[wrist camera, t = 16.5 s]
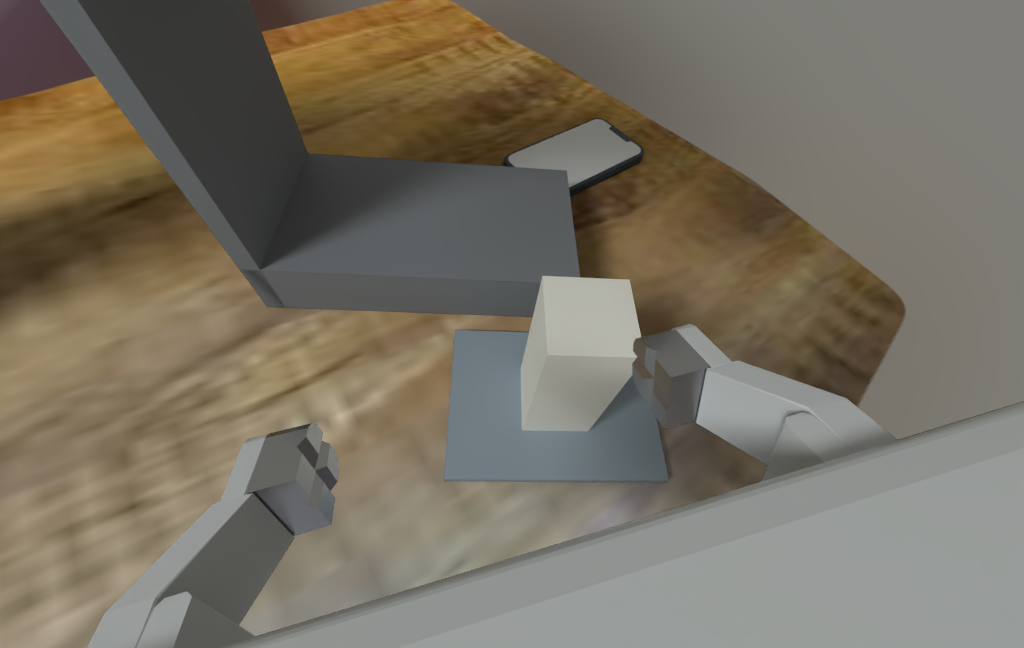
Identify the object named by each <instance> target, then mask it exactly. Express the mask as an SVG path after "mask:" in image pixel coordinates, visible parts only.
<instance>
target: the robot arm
mask: <svg viewBox="0 0 1024 648" xmlns="http://www.w3.org/2000/svg"><path fill="white" fill-rule="evenodd" d="M633 352H634V353H635V354H636V356H637V358H636V359H635V361H634V362H633V363H632V374H633V378H634V382H635V385H636V387H637V389H638V391H639V393H640V394H641V396H642V397H643V398H645V399H647V400H649V401H651V402H652V405H651V411H652V412H653V413H654V415H655V416H656V418H657V419H658V421H659V422H660V424H661V425H662V427H663V428H664V429H668V428H672V427H676V426H679V425H683V424H687V423H691V422H695V421H696V423H697V424H699V425H700V426H702V427H704V428H706V429H707V430H709V431H711V432H712V433H714V434H716V435H717V436H719V437H721V438H722V439H724V440H726V441H727V442H729V443H731V444H732V445H734V446H736V447H737V448H739V449H741V450H743V451H744V452H746V453H748V454H749V455H751V456H753V457H754V458H756V459H758V460H759V461H761V462H763V463H764V464H766V465H767V468H766V471H765V473H764V476H763V478H762V481H761V482H758V483H755V484H752V485H748V486H745V487H742V488H739V489H735V490H732V491H729V492H726V493H722V494H719V495H716V496H712V497H709V498H706V499H703V500H699V501H696V502H693V503H690V504H686V505H683V506H680V507H676V508H673V509H670V510H667V511H663V512H660V513H657V514H654V515H650V516H647V517H644V518H640V519H637V520H634V521H631V522H627V523H624V524H621V525H618V526H614V527H611V528H608V529H604V530H601V531H598V532H595V533H591V534H588V535H585V536H582V537H578V538H575V539H572V540H569V541H565V542H562V543H559V544H555V545H552V546H549V547H546V548H542V549H539V550H536V551H533V552H529V553H526V554H523V555H520V556H516V557H513V558H510V559H507V560H503V561H500V562H497V563H494V564H490V565H487V566H484V567H481V568H477V569H474V570H471V571H467V572H464V573H461V574H458V575H454V576H451V577H448V578H445V579H441V580H438V581H435V582H432V583H428V584H425V585H422V586H419V587H415V588H412V589H409V590H405V591H402V592H399V593H396V594H392V595H389V596H386V597H383V598H379V599H376V600H373V601H369V602H366V603H363V604H360V605H356V606H353V607H350V608H347V609H343V610H340V611H337V612H333V613H330V614H327V615H324V616H320V617H317V618H314V619H311V620H307V621H304V622H301V623H297V624H294V625H291V626H288V627H284V628H281V629H278V630H275V631H271V632H268V633H265V634H261V635H258V636H254V635H253V634H251V633H250V632H248V631H247V630H245V629H244V628H242V627H241V626H239V624H240V623H241V621H242V620H243V618H244V616H245V615H246V613H247V612H248V610H249V609H250V607H251V606H252V604H253V602H254V601H255V599H256V598H257V596H258V595H259V593H260V591H261V590H262V588H263V587H264V585H265V584H266V582H267V581H268V579H269V577H270V576H271V574H272V573H273V571H274V570H275V568H276V567H277V565H278V563H279V562H280V560H281V559H282V557H283V556H284V554H285V552H286V551H287V549H288V548H289V546H290V545H291V543H292V542H293V540H294V536H296V535H299V534H302V533H305V532H309V531H312V530H315V529H318V528H321V527H325V526H328V525H331V523H332V516H333V509H334V502H335V497H334V496H333V495H332V493H331V492H330V491H331V489H332V488H333V487H334V486H335V484H336V483H337V481H338V473H339V469H338V459H337V456H336V454H335V451H334V449H333V448H332V446H331V444H329V443H326V442H324V441H321V440H322V435H323V432H322V431H321V429H320V428H319V427H318V425H317V424H312V423H311V424H307V425H303V426H299V427H295V428H290V429H286V430H282V431H278V432H274V433H270V434H267V435H263V436H259V437H254V438H250V439H248V440H247V441H246V442H245V443H244V444H243V445H242V448H241V450H240V453H239V455H238V458H237V460H236V463H235V465H234V468H233V470H232V473H231V475H230V478H229V481H228V483H227V486H226V488H225V491H224V493H223V496H222V498H221V501H220V502H217V503H214V504H212V505H211V506H210V507H209V508H208V509H207V510H206V511H205V512H204V513H203V514H202V515H201V516H200V517H199V519H198V520H197V521H196V522H195V523H194V524H193V525H192V526H191V527H190V528H189V529H188V530H187V531H186V532H185V533H184V534H183V535H182V536H181V537H180V538H179V539H178V540H177V541H176V542H175V543H174V544H173V545H172V546H171V547H170V548H169V549H168V550H167V551H166V552H165V553H164V554H163V555H162V556H161V557H160V558H159V559H158V560H157V561H156V562H155V563H154V564H153V565H152V566H151V567H150V568H149V569H148V570H147V571H146V572H145V573H144V574H143V575H142V576H141V577H140V578H139V579H138V580H137V581H136V582H135V583H134V584H133V585H132V586H131V587H130V588H129V589H128V590H127V591H126V592H125V593H124V594H123V595H122V596H121V597H120V598H119V599H118V600H117V601H116V602H115V603H114V604H113V605H112V606H111V607H110V608H109V609H108V610H107V611H106V612H105V614H104V616H103V618H102V620H101V622H100V624H99V626H98V627H97V629H96V631H95V633H94V635H93V637H92V639H91V641H90V643H89V645H88V647H87V648H1024V401H1023V402H1020V403H1016V404H1013V405H1010V406H1007V407H1003V408H1001V409H997V410H993V411H990V412H987V413H984V414H980V415H977V416H974V417H971V418H967V419H964V420H961V421H958V422H955V423H951V424H948V425H945V426H941V427H938V428H935V429H932V430H928V431H925V432H922V433H918V434H915V435H912V436H909V437H905V438H902V439H899V440H897V439H896V438H895V437H893V436H892V435H891V434H890V433H889V432H887V431H886V430H885V429H884V428H882V427H881V426H880V425H879V424H877V423H876V422H875V421H874V420H873V419H871V418H870V417H869V416H868V415H866V414H865V413H864V412H863V411H861V410H860V409H859V408H858V407H856V406H855V405H854V404H853V403H852V402H850V401H849V400H848V399H847V398H844V397H841V396H838V395H835V394H833V393H830V392H827V391H824V390H821V389H818V388H815V387H813V386H810V385H807V384H804V383H801V382H798V381H795V380H793V379H790V378H787V377H784V376H781V375H778V374H776V373H773V372H770V371H767V370H764V369H761V368H758V367H756V366H753V365H750V364H747V363H744V362H741V361H738V360H737V361H733V362H732V361H731V360H730V359H729V358H728V357H727V356H726V355H725V354H724V353H723V352H722V351H721V350H720V349H719V348H718V347H717V346H716V345H714V344H713V343H712V342H711V341H710V340H709V339H708V338H707V337H706V336H705V335H704V334H703V333H702V332H701V331H700V330H699V329H698V328H697V327H696V326H695V325H692V324H687V325H684V326H680V327H676V328H673V329H671V330H666V331H662V332H659V333H655V334H651V335H648V336H644V337H640V338H636V339H635V341H634V343H633Z"/></svg>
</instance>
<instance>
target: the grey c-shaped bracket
mask: <svg viewBox="0 0 1024 648" xmlns="http://www.w3.org/2000/svg"><path fill="white" fill-rule="evenodd" d="M40 1H41V3H42V4H43V5H44V7H45V8H46V9H47V10H48V12H49V13H50V15H51V16H52V17H53V19H54V20H55V22H56V23H57V24H58V26H59V27H60V28H61V30H62V31H63V32H64V34H65V35H66V36H67V38H68V39H69V40H70V42H71V43H72V45H73V46H74V47H75V48H76V50H77V51H78V53H79V54H80V55H81V56H82V58H83V59H84V61H85V62H86V63H87V65H88V66H89V67H90V69H91V70H92V71H93V73H94V74H95V75H96V77H97V78H98V80H99V81H100V82H101V84H102V85H103V86H104V88H105V89H106V90H107V92H108V93H109V94H110V96H111V97H112V98H113V100H114V101H115V102H116V104H117V105H118V106H119V108H120V109H121V111H122V112H123V113H124V115H125V116H126V117H127V119H128V120H129V121H130V123H131V124H132V125H133V127H134V128H135V129H136V131H137V132H138V133H139V135H140V136H141V137H142V139H143V140H144V142H145V143H146V144H147V146H148V147H149V148H150V150H151V151H152V152H153V154H154V155H155V156H156V158H157V159H158V160H159V162H160V163H161V164H162V166H163V167H164V168H165V170H166V171H167V173H168V174H169V175H170V177H171V178H172V179H173V181H174V182H175V183H176V185H177V186H178V187H179V189H180V190H181V191H182V193H183V194H184V195H185V197H186V198H187V199H188V201H189V202H190V204H191V205H192V206H193V208H194V209H195V210H196V212H197V213H198V214H199V216H200V217H201V218H202V220H203V221H204V222H205V224H206V225H207V226H208V228H209V229H210V230H211V232H212V233H213V234H214V236H215V237H216V239H217V240H218V241H219V243H220V244H221V245H222V247H223V248H224V249H225V251H226V252H227V253H228V255H229V256H230V257H231V259H232V260H233V261H234V263H235V264H236V265H237V267H238V268H239V270H240V271H241V272H242V274H243V275H244V276H245V278H246V279H247V280H248V282H249V283H250V284H251V286H252V287H253V288H254V290H255V291H256V292H257V294H258V295H259V296H260V298H261V299H262V301H263V302H264V303H265V305H266V306H267V307H281V308H308V309H335V310H361V311H388V312H415V313H442V314H468V315H495V316H522V317H533V314H534V310H535V305H536V301H537V297H538V293H539V288H540V284H541V280H542V276H559V277H580V271H579V263H578V255H577V247H576V239H575V231H574V224H573V216H572V208H571V200H570V192H569V184H568V176H567V170H552V169H536V168H521V167H506V166H491V165H476V164H461V163H446V162H430V161H415V160H400V159H385V158H370V157H355V156H339V155H324V154H309V153H307V150H306V148H305V145H304V143H303V140H302V137H301V135H300V132H299V129H298V127H297V124H296V122H295V119H294V116H293V114H292V111H291V108H290V106H289V103H288V101H287V98H286V95H285V93H284V90H283V87H282V85H281V82H280V80H279V77H278V74H277V72H276V69H275V66H274V64H273V61H272V59H271V56H270V53H269V51H268V48H267V46H266V43H265V40H264V38H263V35H262V32H261V30H260V27H259V25H258V22H257V19H256V17H255V14H254V12H253V9H252V6H251V4H250V1H249V0H40Z"/></svg>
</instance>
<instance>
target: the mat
mask: <svg viewBox="0 0 1024 648" xmlns="http://www.w3.org/2000/svg"><path fill="white" fill-rule="evenodd" d="M528 335H529V332H501V331H471V330H455V338H454V351H453V365H452V379H451V392H450V406H449V419H448V433H447V447H446V460H445V474H444V481H517V482H668V481H669V477H668V472H667V467H666V462H665V458H664V453H663V448H662V443H661V438H660V433H659V428H658V423H657V419H656V416H655V415H654V413H653V412H652V411H651V405H652V402H651V401H649V400H647V399H645V398H643V397H642V396H641V394H640V393H639V391H638V389H637V387H636V385H635V382H634V378H633V375H632V376H631V377H630V379H629V380H628V381H627V382H626V384H625V385H624V386H623V387H622V389H621V390H620V391H619V393H618V394H617V395H616V396H615V398H614V399H613V400H612V402H611V403H610V404H609V405H608V407H607V408H606V409H605V410H604V412H603V413H602V414H601V416H600V417H599V418H598V419H597V421H596V422H595V423H594V424H593V426H592V427H591V428H590V430H589V431H531V430H522V412H521V370H520V369H521V365H522V361H523V357H524V352H525V348H526V344H527V340H528Z"/></svg>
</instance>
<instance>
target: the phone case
mask: <svg viewBox="0 0 1024 648" xmlns="http://www.w3.org/2000/svg"><path fill="white" fill-rule="evenodd" d="M643 154H644V150H643V148H642V147H641V146H639V145H638V144H637V143H635V142H634V141H633V140H631V139H630V138H629V137H627V136H626V135H625V134H623V133H622V132H621V131H619V130H618V129H617V128H615V127H614V126H612V125H611V124H610V123H608V122H607V121H606V120H604V119H600V118H595V119H592V120H590V121H587V122H585V123H583V124H580V125H578V126H575V127H573V128H571V129H568V130H566V131H563V132H561V133H559V134H556V135H554V136H551V137H549V138H547V139H544V140H542V141H540V142H537V143H535V144H532V145H530V146H528V147H525V148H523V149H520V150H518V151H516V152H513V153H511V154H509V155H507V156H506V157H505V159H504V166H506V167H521V168H536V169H552V170H567V176H568V184H569V192H570V196H572V195H575V194H577V193H579V192H581V191H583V190H585V189H587V188H589V187H591V186H593V185H595V184H597V183H599V182H601V181H603V180H605V179H608V178H610V177H612V176H614V175H616V174H618V173H620V172H622V171H624V170H626V169H628V168H630V167H632V166H634V165H636V164H638V163H639V162H640V161H641V159H642V157H643Z"/></svg>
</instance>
